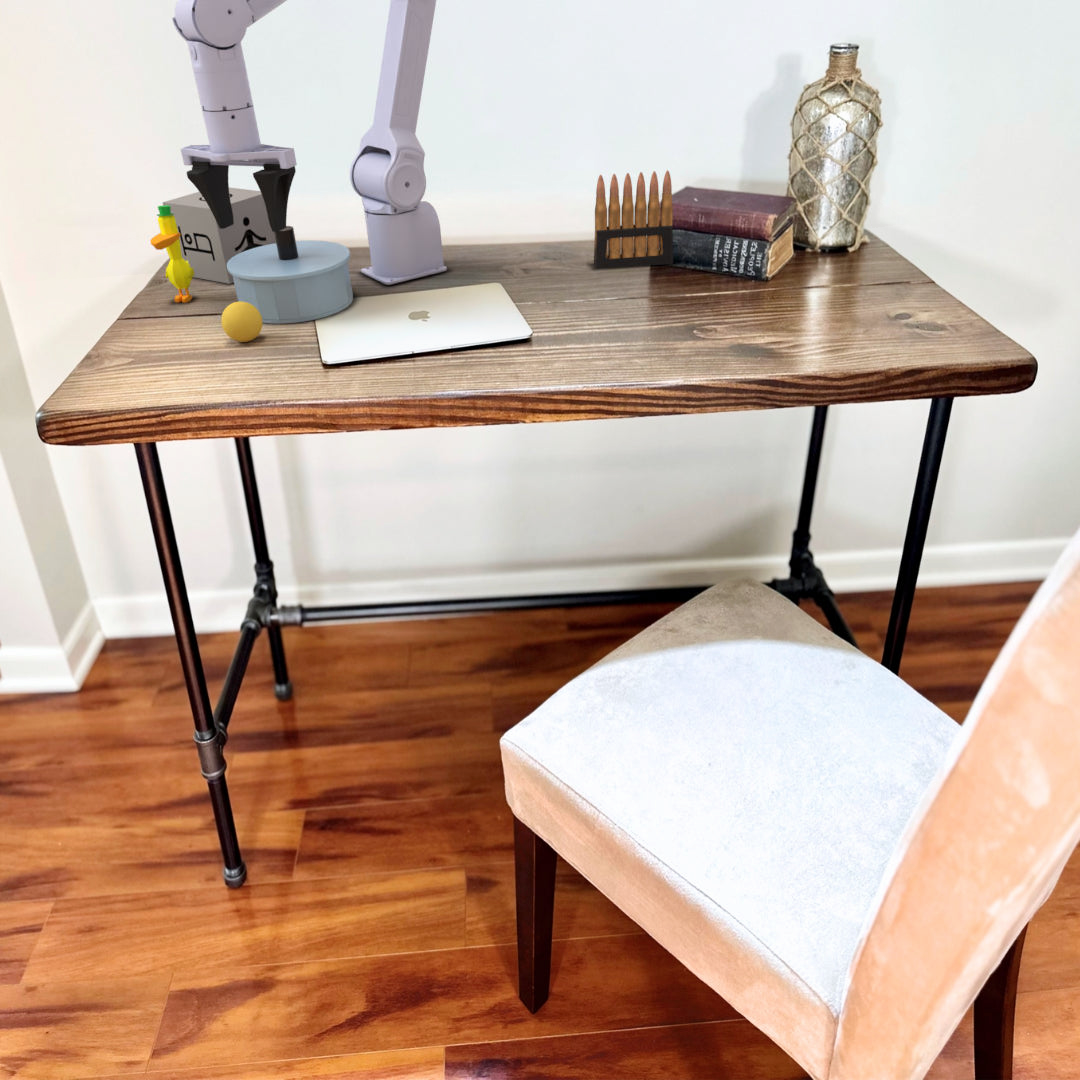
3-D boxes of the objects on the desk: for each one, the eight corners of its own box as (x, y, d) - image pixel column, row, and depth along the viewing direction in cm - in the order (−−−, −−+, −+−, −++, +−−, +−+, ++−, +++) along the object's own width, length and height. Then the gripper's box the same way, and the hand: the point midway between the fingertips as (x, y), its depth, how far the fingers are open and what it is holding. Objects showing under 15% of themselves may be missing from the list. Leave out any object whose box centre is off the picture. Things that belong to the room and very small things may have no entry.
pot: (324, 279, 133) (317, 238, 130) (372, 305, 123) (366, 262, 120) (224, 302, 126) (214, 260, 123) (266, 332, 116) (257, 287, 113)
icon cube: (180, 274, 138) (162, 202, 132) (233, 255, 145) (218, 186, 139) (229, 283, 133) (213, 209, 127) (281, 263, 140) (268, 192, 135)
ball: (257, 330, 117) (249, 293, 114) (271, 340, 114) (264, 302, 111) (220, 339, 115) (211, 302, 112) (234, 350, 112) (225, 312, 109)
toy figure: (183, 309, 125) (159, 214, 118) (157, 309, 125) (132, 214, 119) (207, 292, 130) (185, 200, 124) (182, 292, 131) (160, 200, 124)
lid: (320, 241, 131) (314, 206, 128) (372, 266, 120) (366, 228, 118) (211, 265, 124) (202, 228, 121) (255, 294, 113) (247, 254, 110)
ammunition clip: (670, 259, 133) (673, 168, 127) (673, 263, 132) (676, 171, 125) (593, 264, 133) (592, 173, 126) (595, 268, 131) (594, 176, 125)
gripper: (153, 112, 110) (183, 234, 117) (261, 114, 105) (285, 240, 112) (192, 102, 115) (218, 218, 122) (296, 103, 110) (317, 224, 118)
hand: (252, 228), depth 118 cm, fingers open, 7 cm apart
